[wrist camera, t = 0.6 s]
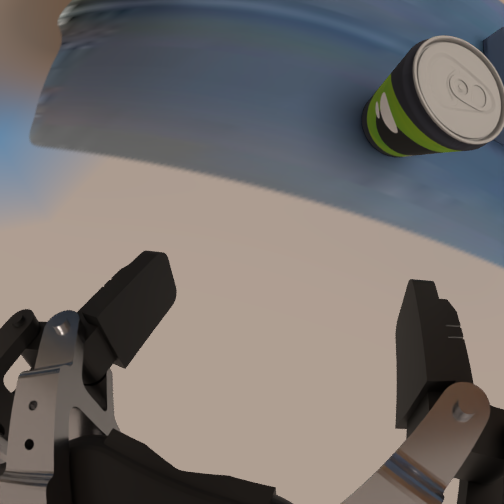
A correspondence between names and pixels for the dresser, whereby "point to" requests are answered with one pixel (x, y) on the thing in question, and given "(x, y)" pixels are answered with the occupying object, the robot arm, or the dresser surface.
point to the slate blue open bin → (496, 61)
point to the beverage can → (436, 101)
